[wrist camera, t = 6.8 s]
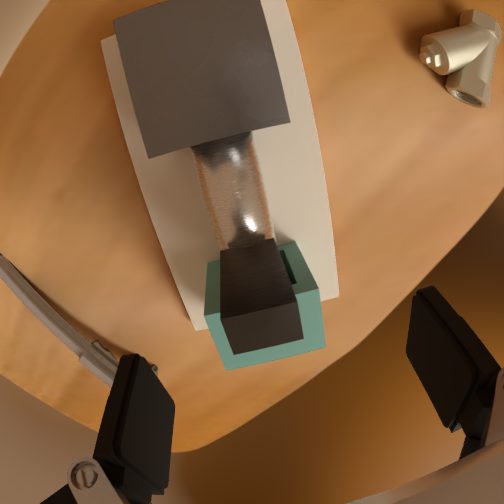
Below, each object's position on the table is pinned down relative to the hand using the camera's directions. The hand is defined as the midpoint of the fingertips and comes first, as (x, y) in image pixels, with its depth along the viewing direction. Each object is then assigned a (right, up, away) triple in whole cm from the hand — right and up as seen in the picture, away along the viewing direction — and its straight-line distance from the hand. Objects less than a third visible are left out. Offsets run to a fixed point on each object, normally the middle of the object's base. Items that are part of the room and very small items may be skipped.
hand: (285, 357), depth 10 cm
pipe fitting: (+15, +20, +7) cm, 26 cm away
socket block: (-1, +2, +13) cm, 13 cm away
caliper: (-18, -2, +15) cm, 23 cm away
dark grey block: (-4, +14, +7) cm, 16 cm away
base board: (-2, +9, +11) cm, 14 cm away
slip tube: (-2, +6, +9) cm, 11 cm away
